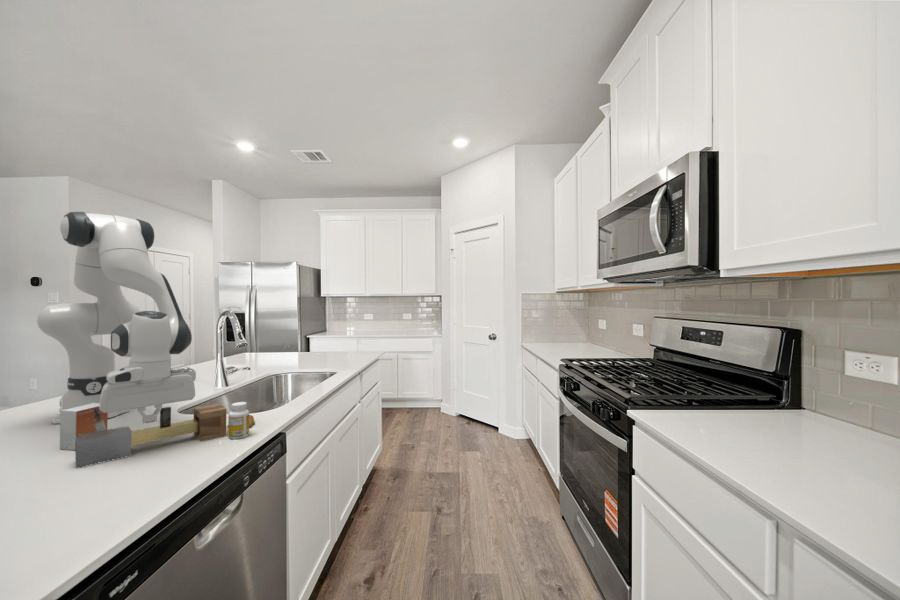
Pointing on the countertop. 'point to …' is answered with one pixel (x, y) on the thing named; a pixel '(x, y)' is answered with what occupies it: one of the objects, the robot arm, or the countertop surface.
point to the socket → (210, 421)
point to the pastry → (250, 420)
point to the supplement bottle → (238, 421)
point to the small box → (80, 423)
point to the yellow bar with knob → (164, 429)
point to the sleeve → (103, 446)
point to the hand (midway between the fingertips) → (149, 422)
